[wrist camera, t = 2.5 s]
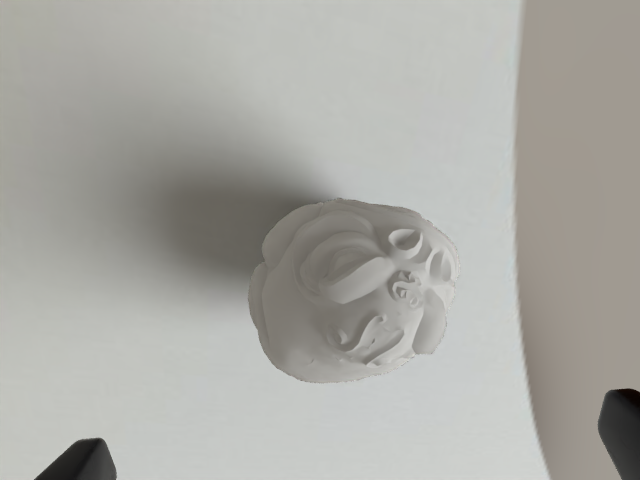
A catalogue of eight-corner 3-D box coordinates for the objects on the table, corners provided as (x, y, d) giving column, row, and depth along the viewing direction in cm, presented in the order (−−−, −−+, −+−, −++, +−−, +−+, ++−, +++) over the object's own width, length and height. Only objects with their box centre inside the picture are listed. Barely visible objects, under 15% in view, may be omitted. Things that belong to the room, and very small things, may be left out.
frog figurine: (454, 214, 17) (545, 320, 11) (342, 335, 20) (365, 481, 13) (330, 119, 16) (354, 180, 9) (222, 264, 18) (182, 393, 11)
